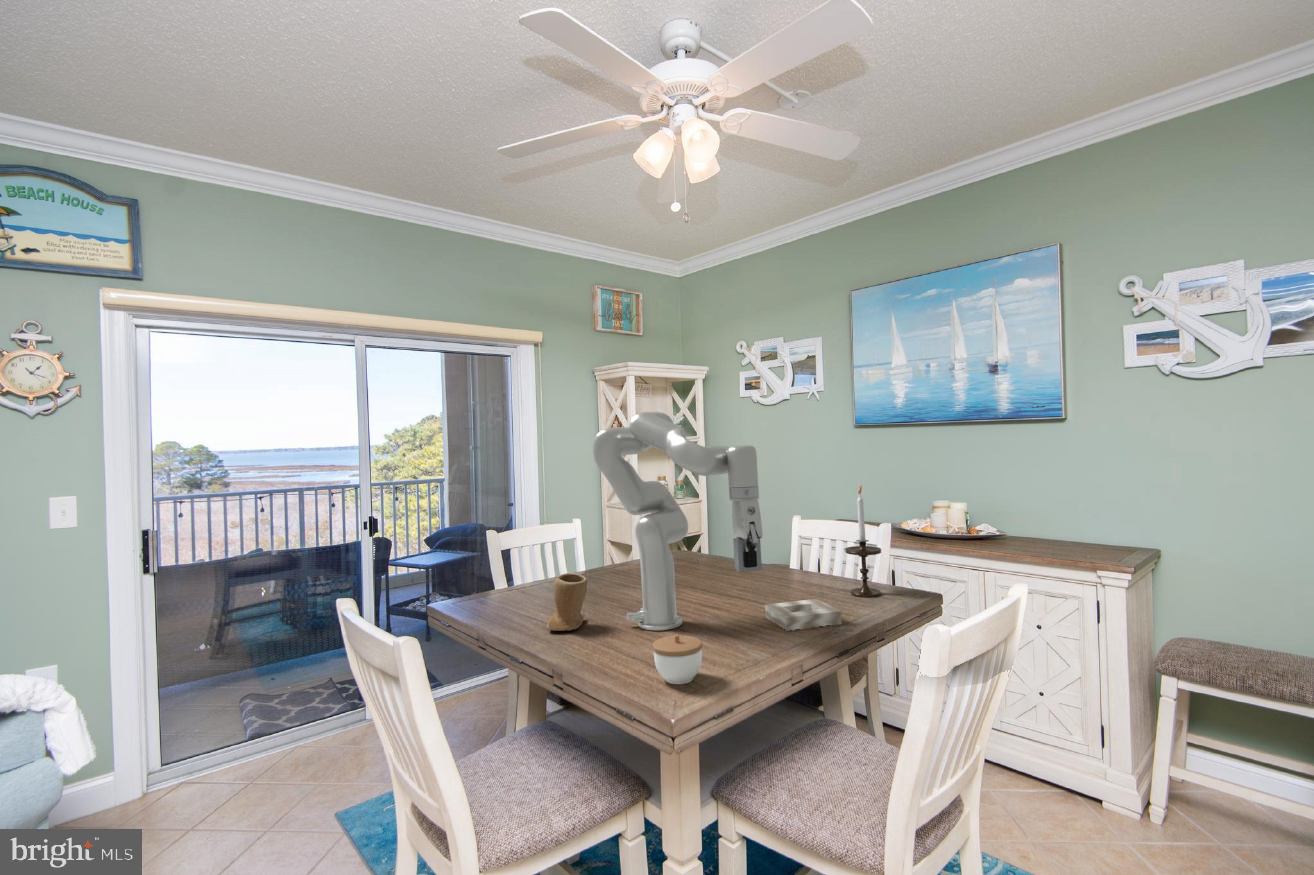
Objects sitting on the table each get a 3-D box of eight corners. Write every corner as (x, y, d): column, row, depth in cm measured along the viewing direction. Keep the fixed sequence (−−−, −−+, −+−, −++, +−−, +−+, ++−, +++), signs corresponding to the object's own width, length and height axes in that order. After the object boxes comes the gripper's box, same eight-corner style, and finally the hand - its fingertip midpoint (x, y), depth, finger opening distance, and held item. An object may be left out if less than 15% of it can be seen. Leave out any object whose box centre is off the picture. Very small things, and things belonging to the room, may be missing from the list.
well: (786, 631, 156) (785, 617, 156) (765, 617, 169) (765, 604, 169) (841, 624, 159) (840, 611, 159) (816, 610, 173) (815, 598, 173)
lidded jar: (647, 686, 125) (644, 641, 125) (664, 667, 135) (662, 626, 135) (695, 691, 121) (692, 645, 121) (709, 671, 131) (707, 629, 131)
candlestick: (880, 589, 193) (873, 483, 194) (886, 598, 182) (879, 485, 183) (845, 589, 195) (839, 484, 196) (850, 598, 184) (843, 486, 185)
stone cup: (585, 633, 163) (582, 579, 163) (543, 635, 164) (540, 581, 164) (594, 617, 178) (591, 568, 179) (555, 619, 179) (553, 569, 179)
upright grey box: (739, 572, 148) (737, 540, 148) (734, 569, 151) (733, 538, 152) (761, 570, 149) (760, 538, 149) (757, 567, 153) (755, 536, 153)
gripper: (769, 494, 143) (774, 570, 143) (747, 490, 159) (751, 558, 159) (740, 497, 142) (744, 573, 141) (720, 492, 158) (724, 561, 158)
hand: (748, 564), depth 150 cm, fingers closed on upright grey box, 3 cm apart
